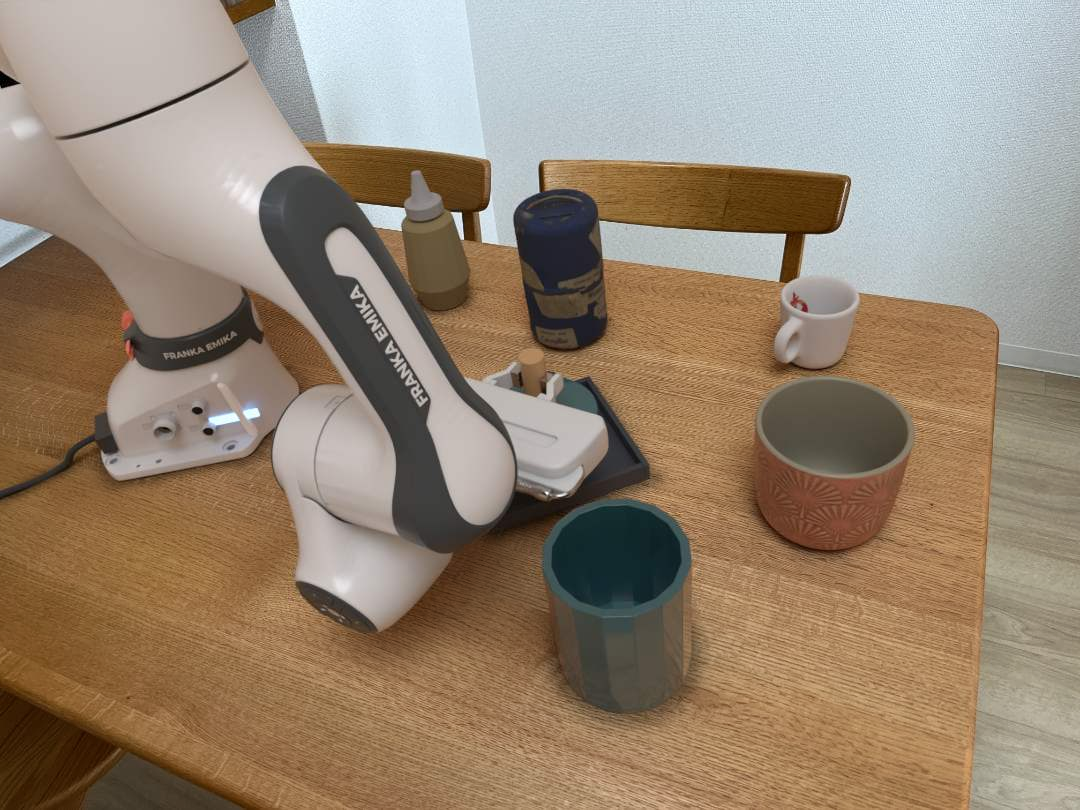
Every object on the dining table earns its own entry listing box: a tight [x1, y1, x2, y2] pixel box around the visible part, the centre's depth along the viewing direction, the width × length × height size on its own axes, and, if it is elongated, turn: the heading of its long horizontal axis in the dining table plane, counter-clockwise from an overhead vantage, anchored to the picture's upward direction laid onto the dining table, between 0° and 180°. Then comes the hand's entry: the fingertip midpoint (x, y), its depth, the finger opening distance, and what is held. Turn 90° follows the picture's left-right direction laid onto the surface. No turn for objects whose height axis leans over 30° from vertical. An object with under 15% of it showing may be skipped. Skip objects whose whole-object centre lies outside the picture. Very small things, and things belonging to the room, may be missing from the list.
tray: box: [491, 375, 651, 535], centre depth 82 cm, size 16×15×2 cm
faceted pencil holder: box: [541, 497, 693, 714], centre depth 61 cm, size 10×10×13 cm
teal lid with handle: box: [509, 347, 598, 415], centre depth 77 cm, size 11×11×8 cm
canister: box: [512, 188, 608, 350], centre depth 93 cm, size 10×10×18 cm
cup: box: [773, 274, 861, 370], centre depth 87 cm, size 11×8×8 cm
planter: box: [753, 375, 916, 551], centre depth 70 cm, size 12×12×11 cm
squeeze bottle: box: [400, 169, 471, 311], centre depth 102 cm, size 8×8×18 cm
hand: (539, 372), depth 77 cm, fingers closed on teal lid with handle, 2 cm apart
